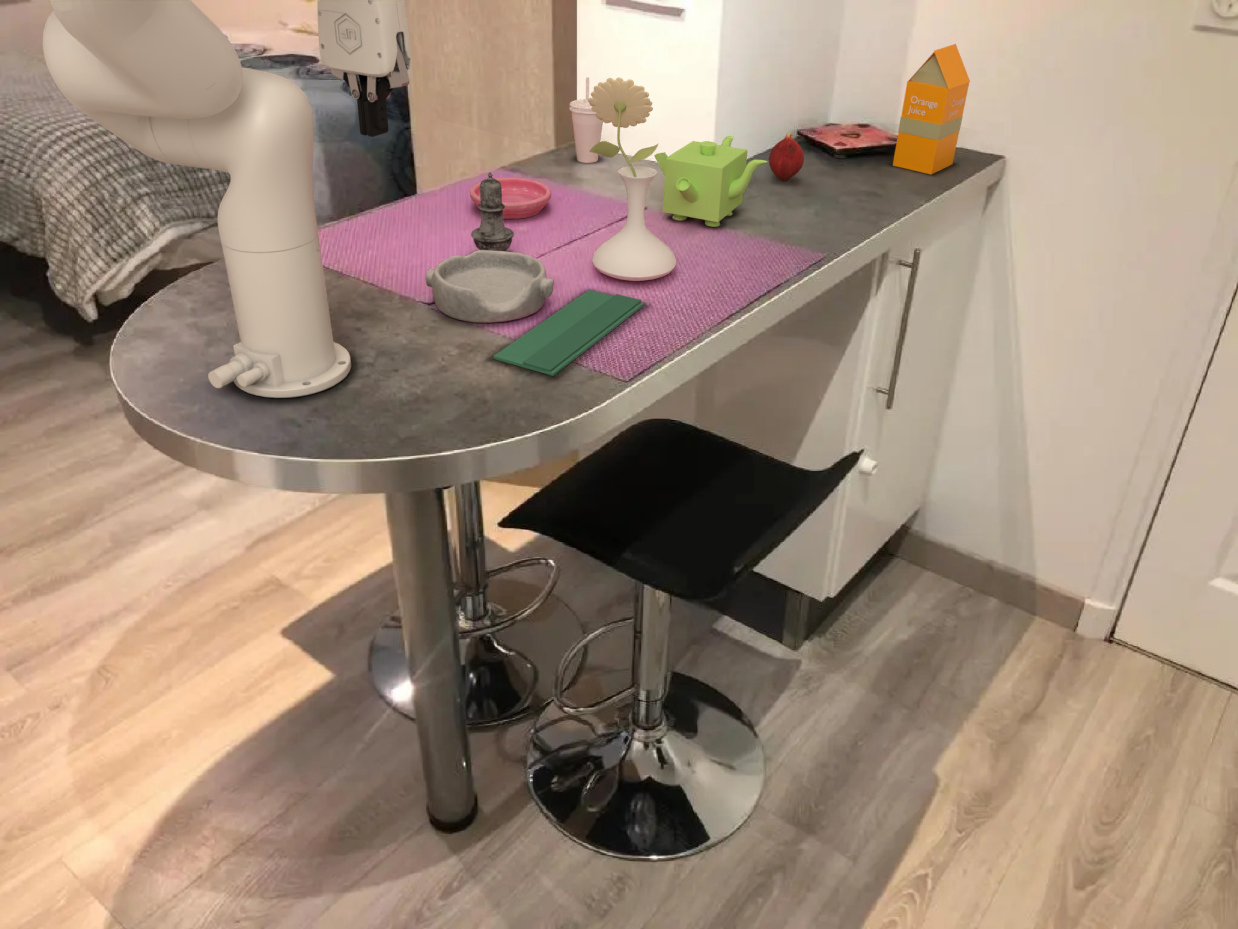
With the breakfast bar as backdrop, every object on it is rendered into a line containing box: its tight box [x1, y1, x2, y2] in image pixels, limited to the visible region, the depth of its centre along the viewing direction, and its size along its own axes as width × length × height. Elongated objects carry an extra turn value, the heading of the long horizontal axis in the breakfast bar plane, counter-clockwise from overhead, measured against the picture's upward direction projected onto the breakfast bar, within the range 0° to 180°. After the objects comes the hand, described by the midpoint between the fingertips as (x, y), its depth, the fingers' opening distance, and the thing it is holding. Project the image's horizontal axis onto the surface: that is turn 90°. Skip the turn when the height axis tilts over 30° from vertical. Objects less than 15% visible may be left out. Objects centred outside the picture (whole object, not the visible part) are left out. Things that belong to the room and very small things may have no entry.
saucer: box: [469, 177, 552, 220], centre depth 157 cm, size 12×12×3 cm
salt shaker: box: [470, 171, 515, 252], centre depth 138 cm, size 6×6×12 cm
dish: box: [425, 249, 555, 323], centre depth 127 cm, size 14×14×5 cm
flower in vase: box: [588, 77, 677, 282], centre depth 132 cm, size 13×11×25 cm
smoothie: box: [568, 77, 604, 164], centre depth 177 cm, size 6×6×14 cm
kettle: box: [654, 135, 769, 227], centre depth 155 cm, size 15×14×11 cm
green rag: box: [492, 289, 645, 377], centre depth 122 cm, size 22×8×1 cm, turn 152°
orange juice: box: [892, 43, 971, 175], centre depth 178 cm, size 8×9×20 cm
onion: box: [768, 132, 805, 182], centre depth 171 cm, size 6×6×8 cm
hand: (374, 133), depth 120 cm, fingers closed
